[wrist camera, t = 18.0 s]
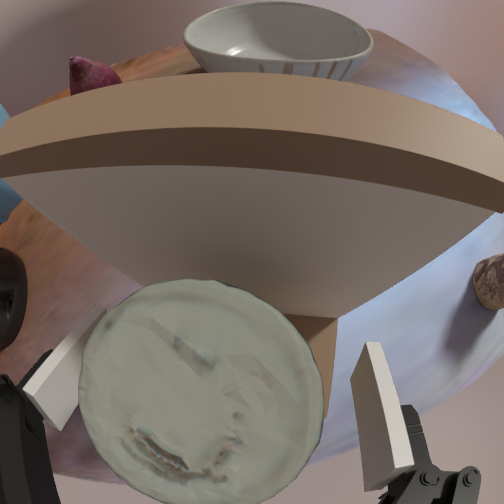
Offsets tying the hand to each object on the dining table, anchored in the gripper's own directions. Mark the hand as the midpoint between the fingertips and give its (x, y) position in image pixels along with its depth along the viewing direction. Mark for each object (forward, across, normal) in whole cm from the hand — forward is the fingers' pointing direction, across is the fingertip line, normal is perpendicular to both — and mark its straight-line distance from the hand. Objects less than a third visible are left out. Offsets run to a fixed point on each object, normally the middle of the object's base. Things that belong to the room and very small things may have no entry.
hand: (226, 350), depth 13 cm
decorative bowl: (+38, 0, +19) cm, 42 cm away
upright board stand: (+10, 0, -9) cm, 13 cm away
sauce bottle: (+7, 0, -8) cm, 11 cm away
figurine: (+16, +31, -3) cm, 35 cm away
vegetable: (+36, -33, +18) cm, 52 cm away
